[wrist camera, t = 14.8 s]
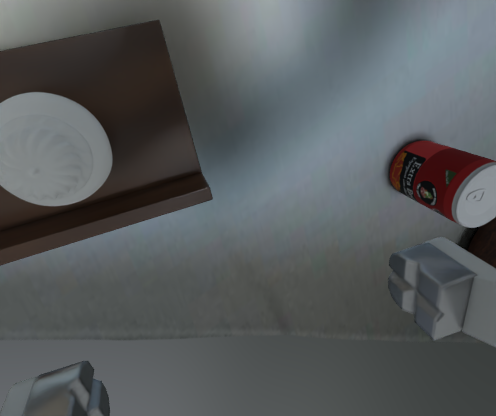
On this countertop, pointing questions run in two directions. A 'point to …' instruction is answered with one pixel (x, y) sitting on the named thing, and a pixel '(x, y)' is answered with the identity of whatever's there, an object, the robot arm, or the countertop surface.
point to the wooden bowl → (485, 243)
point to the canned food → (447, 181)
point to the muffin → (51, 149)
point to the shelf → (117, 130)
